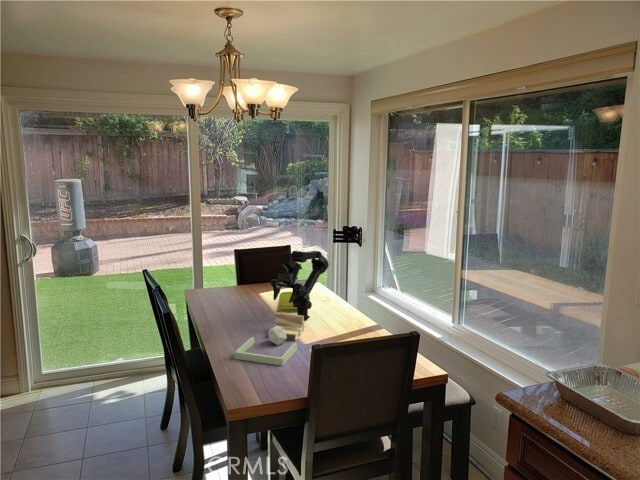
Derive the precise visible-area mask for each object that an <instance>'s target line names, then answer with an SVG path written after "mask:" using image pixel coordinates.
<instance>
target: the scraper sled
mask: <svg viewBox="0 0 640 480" xmlns="http://www.w3.org/2000/svg"><path fill="white" fill-rule="evenodd" d="M304 323H305V320H304V316H302V315H297V314H294V313H293V314H292V313H285V312H277V313H275V325H274V326H273V327H272V328H270V329H269V330H268V331H267V333H268V332H269V331H270V330H271V329H273V328H274V327H275V326H276V325H277V326H279V327H281V328H283V329H284V330H285V332H286V337H287V339H286V340H285V341H288V342H289V341H291V342H296V340H297V339H299V338H300V337H301V336H302V334H303V333H304V332H305V326H304V325H305V324H304ZM267 338H268V339H269V336H268V335H267Z"/></svg>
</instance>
